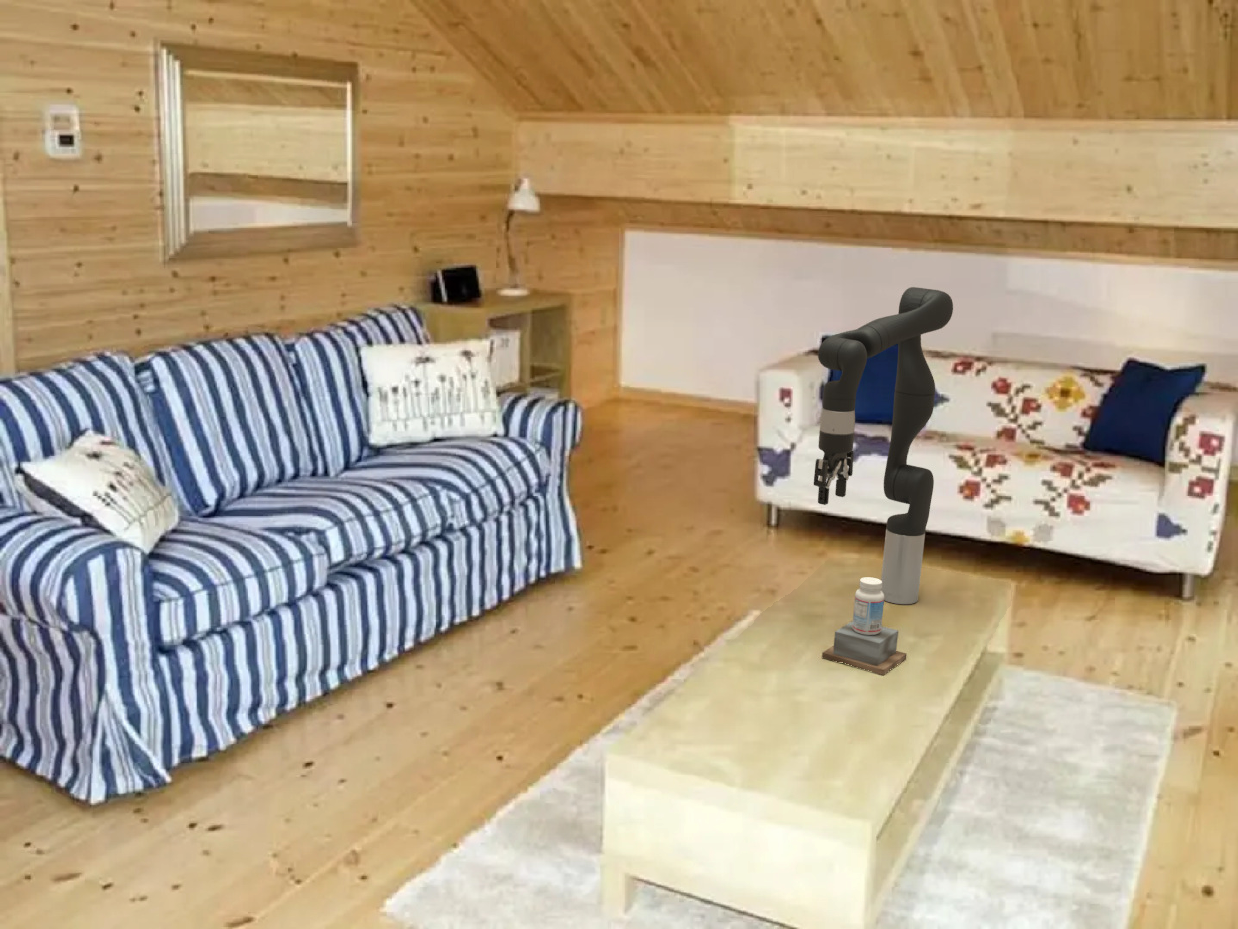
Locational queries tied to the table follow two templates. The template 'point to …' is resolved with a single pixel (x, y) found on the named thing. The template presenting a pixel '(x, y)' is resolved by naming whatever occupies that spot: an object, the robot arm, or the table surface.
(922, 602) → the table surface
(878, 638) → the tower base
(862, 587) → the pill bottle
